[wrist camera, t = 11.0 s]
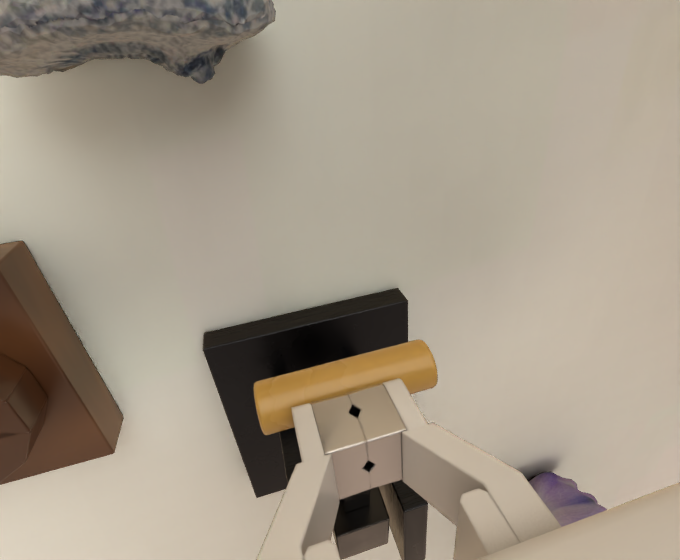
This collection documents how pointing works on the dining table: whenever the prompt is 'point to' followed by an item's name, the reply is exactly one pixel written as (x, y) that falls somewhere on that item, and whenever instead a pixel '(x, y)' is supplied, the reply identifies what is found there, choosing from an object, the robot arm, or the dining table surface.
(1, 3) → the grey rock
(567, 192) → the dining table surface
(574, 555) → the robot arm
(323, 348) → the switch bracket
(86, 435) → the button block
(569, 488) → the flower
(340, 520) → the switch lever
